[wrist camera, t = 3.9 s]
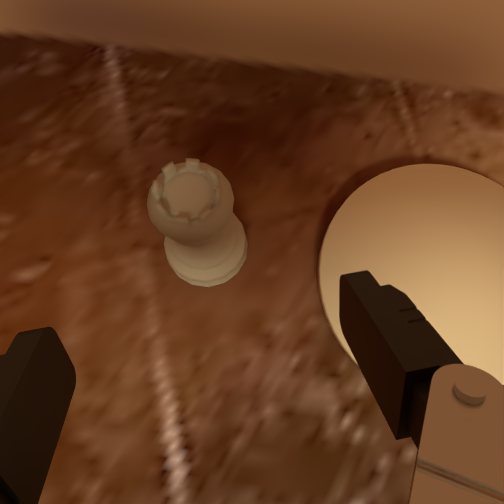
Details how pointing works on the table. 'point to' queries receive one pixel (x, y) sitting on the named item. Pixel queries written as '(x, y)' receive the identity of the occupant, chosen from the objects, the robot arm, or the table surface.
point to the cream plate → (426, 254)
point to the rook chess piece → (197, 222)
